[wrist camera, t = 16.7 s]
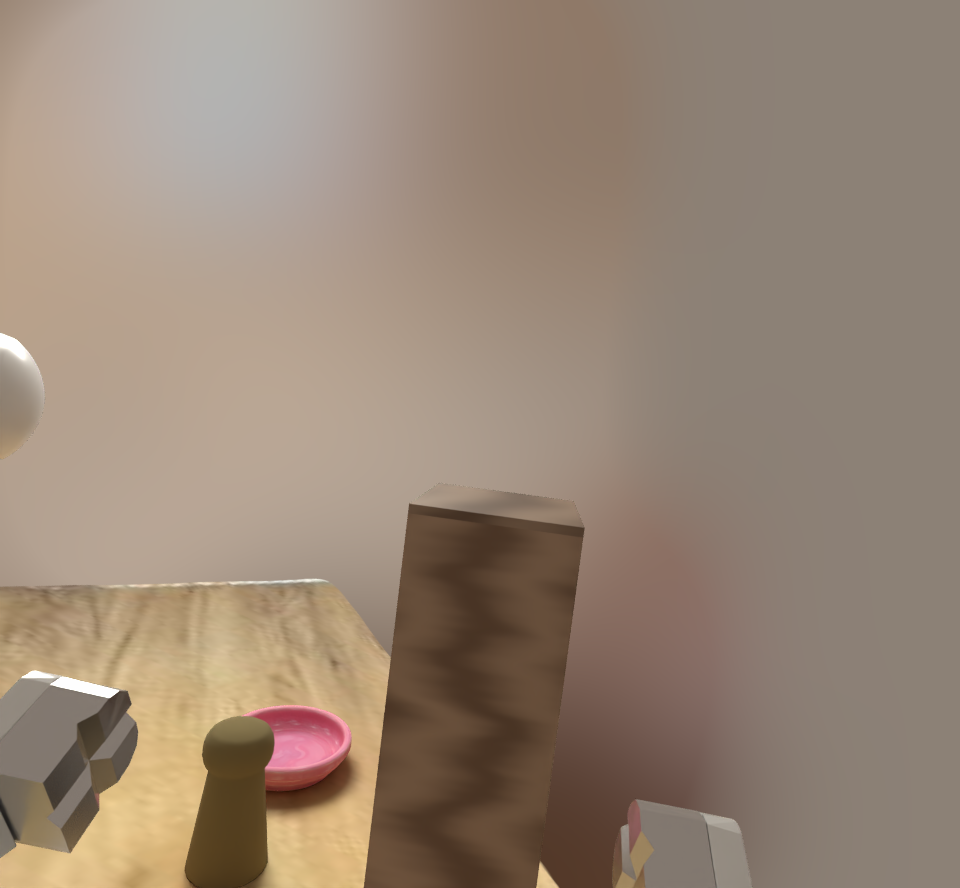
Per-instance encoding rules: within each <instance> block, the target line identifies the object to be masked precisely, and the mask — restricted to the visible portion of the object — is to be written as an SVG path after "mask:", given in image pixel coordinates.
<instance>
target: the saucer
mask: <svg viewBox="0 0 960 888" xmlns="http://www.w3.org/2000/svg"><path fill="white" fill-rule="evenodd" d="M243 716H250V717H255V718H258V719H261V720H263V721H265V722H266V723H268V724H269V726H270V727H271V729H272V731H273V733H274V739H275V745H274V752H273V755H272V758H271V760H270V762H269V763H268V765H267V766H266V767H265V790H269V791H291V790H298V789H302V788H306V787H309V786H311V785H314V784H316V783H318V782H319V781H321V780H323V779H324V778H325V777H326V776H327V775H328V774H329V773H331V772H332V771H333V770H334V769H336V768H337V767H338V766H339V764H340V763H341V762H342V761H343V760H344V759H345V758H346V756H347V755H348V753H349V751H350V747H351V740H352V737H351V731H350V729H349V727H348V726H347V724H346V723H345V722H344V721H343V720H342V719H340V718H339V717H338V716H336V715H334V714H332V713H330V712H327V711H325V710H321V709H318V708H313V707H307V706H296V705H285V706H274V707H268V708H263V709H259V710H255V711H252V712H250V713H247V714H245V715H243Z"/></svg>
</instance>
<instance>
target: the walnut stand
mask: <svg viewBox="0 0 960 888" xmlns="http://www.w3.org/2000/svg"><path fill="white" fill-rule="evenodd" d="M583 535H584V525H583V523H582V520H581V518H580V515H579V513H578V511H577V508H576V505H575V503H574V501H569V500H562V499H554V498H547V497H539V496H531V495H525V494H517V493H510V492H502V491H495V490H487V489H480V488H473V487H465V486H457V485H450V484H443V483H438V484H437V485H436V486H434V487H433V488H431V489H430V490H428V491H427V492H425V493H424V494H422V495H421V496H420V497H418V498H417V499H415V500H414V501H412V502H411V503H409V510H408V519H407V528H406V537H405V545H404V552H403V561H402V569H401V578H400V586H399V595H398V603H397V612H396V621H395V629H394V637H393V645H392V654H391V662H390V671H389V679H388V688H387V696H386V705H385V713H384V722H383V730H382V739H381V747H380V755H379V764H378V772H377V781H376V789H375V798H374V806H373V815H372V823H371V832H370V840H369V849H368V857H367V865H366V874H365V882H364V888H536V885H537V878H538V870H539V863H540V855H541V848H542V841H543V833H544V826H545V818H546V810H547V803H548V795H549V788H550V781H551V773H552V766H553V759H554V751H555V744H556V736H557V729H558V721H559V714H560V706H561V699H562V692H563V683H564V676H565V669H566V662H567V654H568V646H569V639H570V632H571V624H572V616H573V609H574V602H575V595H576V586H577V580H578V572H579V565H580V557H581V550H582V541H583Z"/></svg>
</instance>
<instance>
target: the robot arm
mask: <svg viewBox="0 0 960 888" xmlns="http://www.w3.org/2000/svg"><path fill="white" fill-rule="evenodd" d="M44 403H45V391H44V384H43V379H42V376H41V373H40V371H39V369H38V367H37V365H36V363H35V361H34V359H33V358H32V356H31V355H30V354H29V352H28V351H27V350H26V349H25V348H24V347H23V346H22V345H21V344H20V343H19V342H18V341H17V340H16V339H14V338H11V337H9V336H7V335H4V334H2V333H0V459H4V458H6V457H8V456H10V455H11V454H13V453H14V452H15V451H17V450H18V449H19V448H20V447H21V446H22V445H23V444H24V443H25V442H26V441H27V440H28V439H29V438H30V436H31V435H32V434H33V433H34V430H35V429H36V427H37V426H38V424H39V421H40V418H41V416H42V413H43V409H44ZM130 706H131V701H130V697H129V694H128V691H126V690H121V689H117V688H112V687H107V686H103V685H98V684H93V683H89V682H84V681H79V680H75V679H71V678H68V677H64V676H59V675H54V674H49V673H44V672H39V671H34V670H33V671H32V672H30V673H28V674H27V675H25V676H23V677H22V678H20V679H19V680H18V681H17V682H16V683H15V684H14V685H13V686H12V687H11V688H10V690H9V691H8V692H7V693H6V694H5V695H4V696H3V697H2V698H1V699H0V858H1V857H2V856H4V855H5V854H7V853H8V852H9V851H11V850H12V849H13V848H15V847H16V843H21V844H26V845H31V846H36V847H41V848H46V849H51V850H56V851H61V852H66V853H71V851H72V850H73V848H74V847H75V845H76V844H77V842H78V841H79V839H80V838H81V836H82V835H83V833H84V832H85V830H86V829H87V827H88V826H89V824H90V823H91V821H92V820H93V819H94V817H95V816H96V814H97V813H98V811H99V794H100V793H101V792H103V791H105V790H106V789H108V788H109V787H111V786H113V785H114V784H116V783H117V782H118V781H119V780H120V778H121V776H122V775H123V773H124V772H125V770H126V769H127V767H128V766H129V764H130V761H131V759H132V756H133V753H134V751H135V748H136V746H137V738H138V729H137V725H136V722H135V721H134V720H133V719H132V718H131V717H130V716H129V715H128V714H127V713H126V711H127V710H128V709H129V707H130ZM15 842H16V843H15ZM613 888H753V886H752V881H751V876H750V872H749V867H748V862H747V857H746V852H745V847H744V843H743V838H742V833H741V829H740V828H739V826H738V824H737V822H735V821H734V820H733V819H730V818H725V817H720V816H715V815H710V814H705V813H700V812H699V811H694V810H688V809H684V808H678V807H673V806H668V805H663V804H658V803H653V802H647V801H642V800H637V799H636V800H634V801H632V803H631V805H630V807H629V809H628V825H625V826H623V827H621V829H620V831H619V834H618V837H617V840H616V845H615V851H614V857H613Z"/></svg>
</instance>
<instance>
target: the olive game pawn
mask: <svg viewBox="0 0 960 888" xmlns="http://www.w3.org/2000/svg"><path fill="white" fill-rule="evenodd" d="M274 745H275V739H274V733H273V731H272V729H271V727H270V726H269V724H268V723H266V722H265V721H263V720H261V719H258V718H255V717H250V716H237V717H232V718H229V719H226V720H223V721H221V722H219V723H217V724H216V725H214V727H213V728H212V729H211V730H210V732H209V733H208V734H207V736H206V738H205V741H204V745H203V753H202V757H203V762H204V765H205V767H206V769H207V770H208V774H207V778H206V782H205V786H204V790H203V795H202V799H201V803H200V807H199V811H198V815H197V819H196V823H195V827H194V831H193V836H192V840H191V844H190V848H189V852H188V856H187V860H186V865H185V873H186V876H187V879H188V880H189V881H190V882H192V883H193V884H194V885H195V886H197V887H200V888H238V887H241V886H244V885H246V884H247V883H249V882H251V881H252V880H254V879H256V878H257V877H258V876H259V874H260V873H261V872H262V871H263V870H264V868H265V866H266V864H267V856H268V852H267V821H266V790H265V767H266V766H267V765H268V763H269V762H270V760H271V758H272V755H273V752H274Z"/></svg>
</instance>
